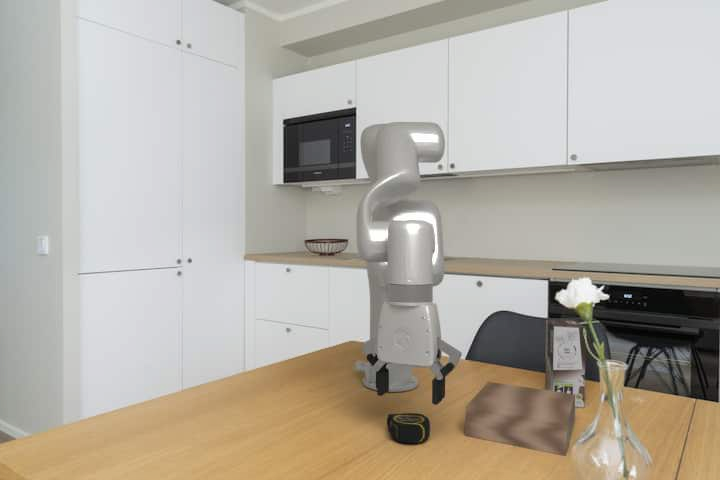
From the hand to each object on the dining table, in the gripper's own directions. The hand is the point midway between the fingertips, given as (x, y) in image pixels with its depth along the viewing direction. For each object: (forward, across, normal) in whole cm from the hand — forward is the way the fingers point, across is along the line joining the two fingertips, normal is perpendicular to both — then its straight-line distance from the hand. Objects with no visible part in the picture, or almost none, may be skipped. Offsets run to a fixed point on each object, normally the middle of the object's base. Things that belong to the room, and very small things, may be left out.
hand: (409, 397), depth 83 cm
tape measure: (+8, -1, +2) cm, 8 cm away
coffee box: (+7, +20, +35) cm, 41 cm away
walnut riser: (+7, +15, +15) cm, 23 cm away
